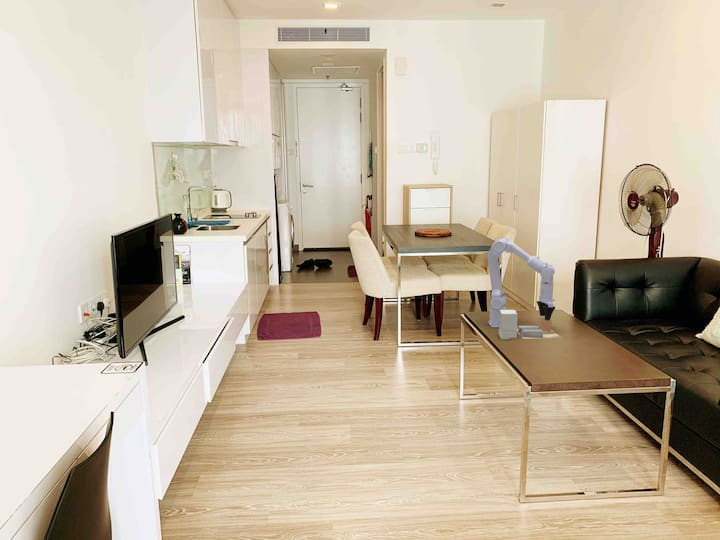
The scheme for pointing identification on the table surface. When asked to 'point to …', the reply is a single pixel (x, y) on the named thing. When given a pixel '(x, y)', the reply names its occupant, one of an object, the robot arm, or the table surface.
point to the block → (544, 324)
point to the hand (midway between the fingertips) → (544, 317)
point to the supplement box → (508, 324)
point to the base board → (546, 335)
